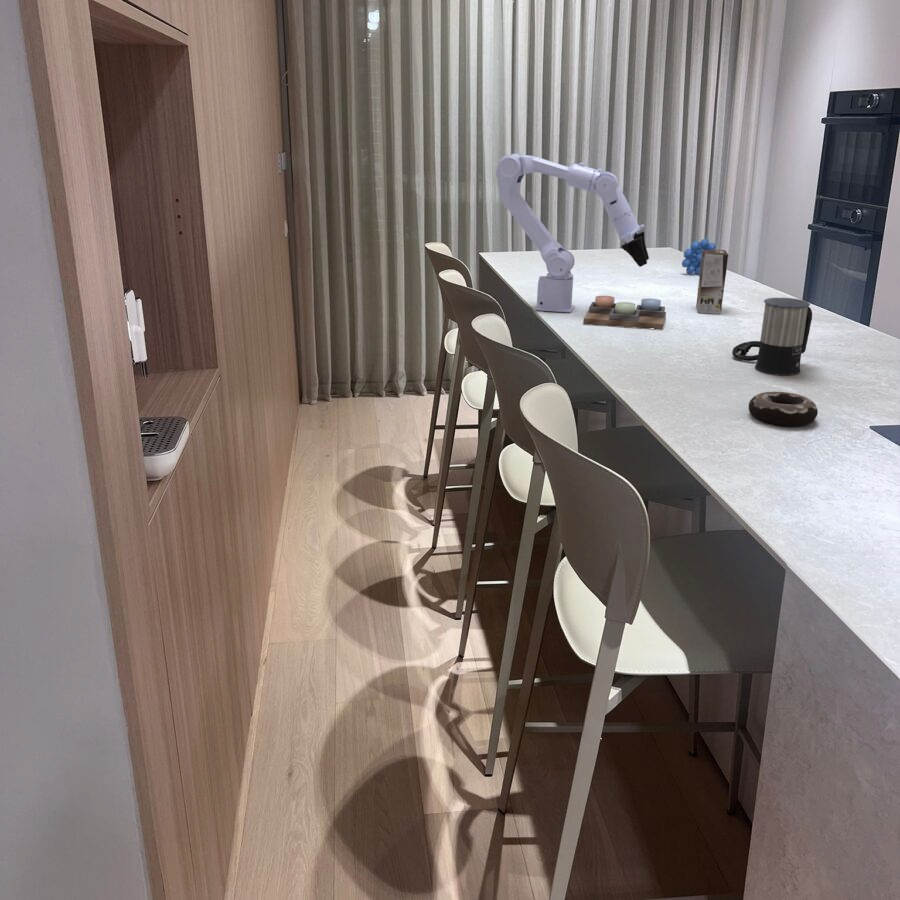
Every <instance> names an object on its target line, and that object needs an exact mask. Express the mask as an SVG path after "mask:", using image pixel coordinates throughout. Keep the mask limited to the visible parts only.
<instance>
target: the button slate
mask: <svg viewBox="0 0 900 900" xmlns="http://www.w3.org/2000/svg"><path fill="white" fill-rule="evenodd" d="M640 305H641V310H650V311H660V306H662V300H661V299H657V298H642V299H641V300H640Z"/></svg>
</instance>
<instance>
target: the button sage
mask: <svg viewBox="0 0 900 900" xmlns="http://www.w3.org/2000/svg"><path fill="white" fill-rule="evenodd" d="M636 306H637V305H636V303H634V302H628V301H621V302H620V301H619V302H616V307H615V314H625V315H634V314H635V310H636Z"/></svg>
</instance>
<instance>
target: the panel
mask: <svg viewBox="0 0 900 900" xmlns="http://www.w3.org/2000/svg"><path fill="white" fill-rule="evenodd" d="M616 303H617V302H616ZM616 303H615V302H614V307H613V308H605V307H595V301H592V302H591V304H590V305H589V307H588V311H587V312H586V314H585V316H584V317H583V322H582V323H583V325H586V324H594V325H593V326H600V325H608V326H607V327H614V326H624V327H623V328H628V327H637V328H636V329H642V328H654V329H653V330H656V329H663V330H664V327H663V326H665V322H666V318H665V317H667V316H666V315H667V312H666V311H665V310H666V306H662V305H660V311H650V310H641V304H637V305H636V306H635V314H634V315H625V314H615V307H616Z"/></svg>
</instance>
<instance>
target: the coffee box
mask: <svg viewBox="0 0 900 900" xmlns="http://www.w3.org/2000/svg"><path fill="white" fill-rule="evenodd" d="M728 260H729V253H728V252H727V251H726V249H724V250H723V249H715V250H702V257H701V266H700V275H698V276H699V277H698V286H697V295H696V311H697V313H698V314H711V315H713V314H714V315H721V314H722V309H723V308H722V307H723V298H724V293H725V284H726V283H725V282H726V276H727V268H728V262H729V261H728Z"/></svg>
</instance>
